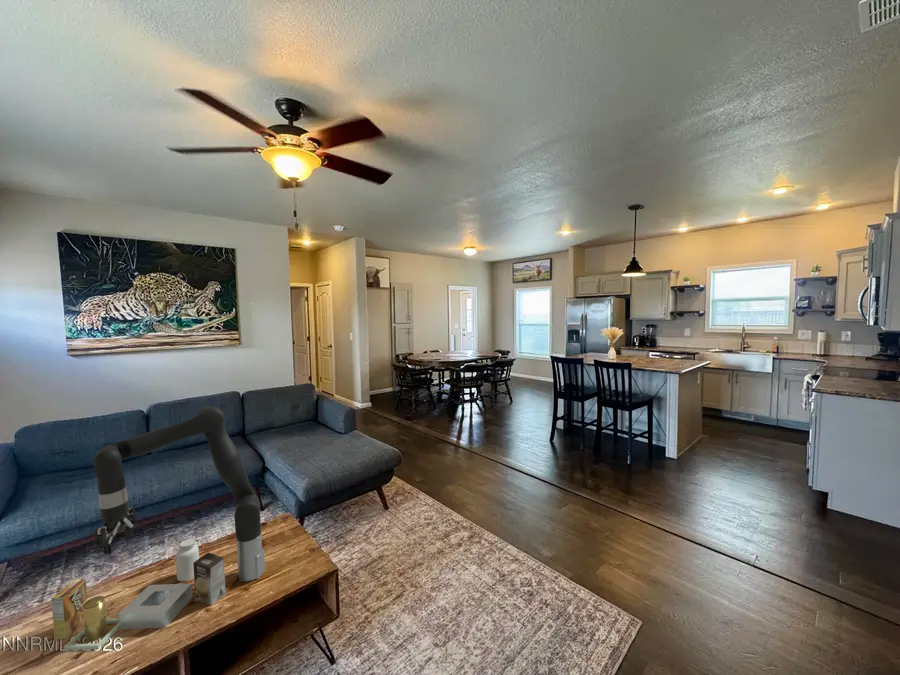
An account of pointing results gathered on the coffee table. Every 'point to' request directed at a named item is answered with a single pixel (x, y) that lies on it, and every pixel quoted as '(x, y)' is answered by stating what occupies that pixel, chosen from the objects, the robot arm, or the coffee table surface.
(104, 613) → the gold shiny round cylinder
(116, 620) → the tray
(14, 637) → the coffee table surface
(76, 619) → the candy box
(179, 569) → the pill bottle
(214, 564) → the coffee box
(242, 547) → the robot arm
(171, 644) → the coffee table surface
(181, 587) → the housing
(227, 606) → the coffee table surface
